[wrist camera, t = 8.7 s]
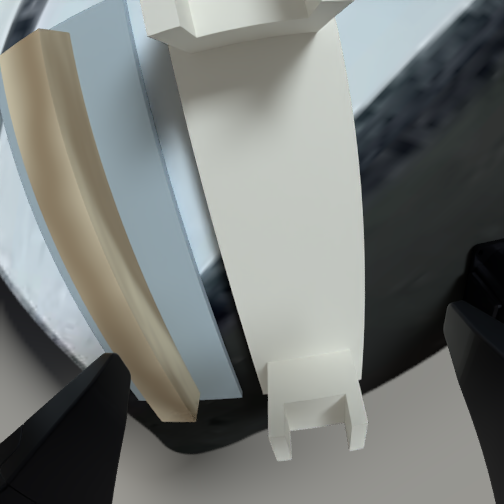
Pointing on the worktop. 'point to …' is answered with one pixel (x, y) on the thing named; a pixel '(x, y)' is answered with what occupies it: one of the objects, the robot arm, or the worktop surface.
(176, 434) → the worktop surface
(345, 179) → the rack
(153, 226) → the mat
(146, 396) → the rail
